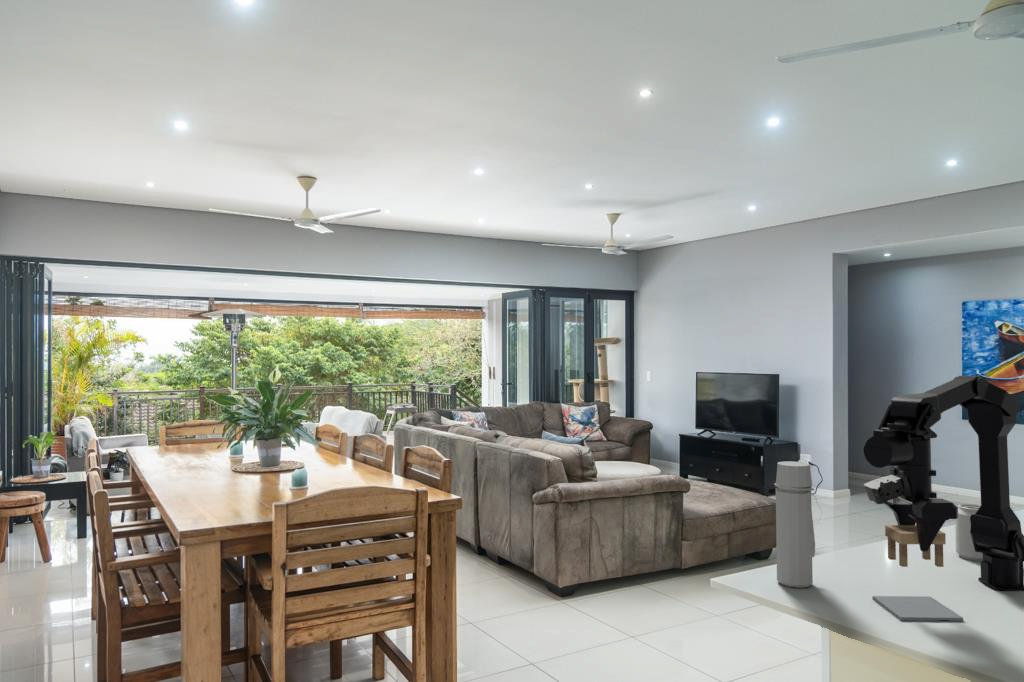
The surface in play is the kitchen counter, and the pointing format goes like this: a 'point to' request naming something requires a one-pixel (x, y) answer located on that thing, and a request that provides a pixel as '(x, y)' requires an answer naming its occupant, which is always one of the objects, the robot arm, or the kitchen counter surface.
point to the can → (966, 533)
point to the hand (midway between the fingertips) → (915, 546)
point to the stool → (910, 536)
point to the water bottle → (794, 524)
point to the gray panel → (916, 608)
